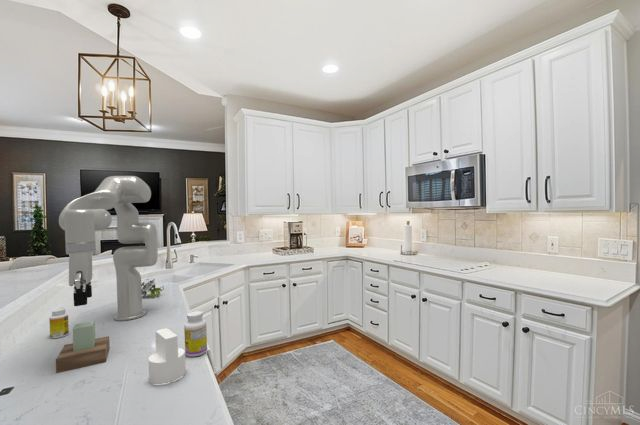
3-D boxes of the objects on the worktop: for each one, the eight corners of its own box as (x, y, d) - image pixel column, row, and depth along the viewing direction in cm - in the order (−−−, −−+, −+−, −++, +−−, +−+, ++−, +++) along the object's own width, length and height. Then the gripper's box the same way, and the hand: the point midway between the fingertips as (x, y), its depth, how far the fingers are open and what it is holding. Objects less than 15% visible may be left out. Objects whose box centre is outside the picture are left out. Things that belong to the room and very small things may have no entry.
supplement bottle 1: (67, 336, 117) (66, 310, 117) (48, 340, 115) (47, 313, 115) (70, 332, 122) (69, 306, 122) (52, 335, 120) (51, 309, 120)
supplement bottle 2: (185, 350, 101) (184, 311, 101) (207, 346, 104) (205, 308, 104) (184, 359, 95) (183, 318, 95) (207, 355, 97) (205, 314, 97)
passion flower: (144, 307, 172) (135, 289, 175) (164, 299, 180) (155, 281, 183) (147, 299, 165) (138, 280, 168) (167, 291, 173) (159, 273, 176)
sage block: (76, 346, 99) (75, 324, 99) (95, 342, 101) (94, 320, 101) (73, 351, 94) (72, 329, 94) (93, 347, 97) (92, 325, 97)
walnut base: (65, 357, 100) (64, 344, 100) (109, 347, 106) (109, 336, 106) (56, 373, 89) (55, 359, 89) (106, 361, 95) (105, 348, 95)
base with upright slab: (145, 377, 85) (143, 334, 85) (178, 365, 92) (177, 324, 92) (155, 389, 79) (153, 343, 79) (190, 375, 85) (189, 332, 85)
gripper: (71, 246, 103) (73, 297, 104) (59, 252, 88) (62, 311, 89) (98, 244, 107) (101, 293, 107) (91, 249, 92) (94, 306, 92)
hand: (83, 301), depth 98 cm, fingers open, 9 cm apart
